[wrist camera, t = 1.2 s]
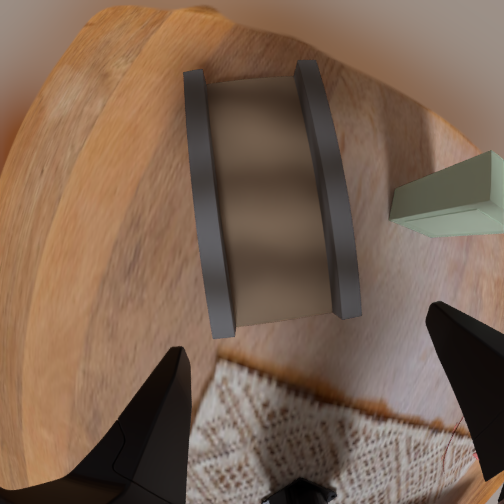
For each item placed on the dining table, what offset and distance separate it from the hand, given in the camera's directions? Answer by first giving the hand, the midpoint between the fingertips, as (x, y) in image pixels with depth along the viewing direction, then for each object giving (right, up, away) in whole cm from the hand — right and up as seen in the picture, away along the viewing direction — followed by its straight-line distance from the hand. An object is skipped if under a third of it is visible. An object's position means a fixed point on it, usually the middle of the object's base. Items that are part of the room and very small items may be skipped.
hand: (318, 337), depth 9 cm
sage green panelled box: (+13, +6, +14) cm, 20 cm away
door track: (-1, +8, +14) cm, 16 cm away
